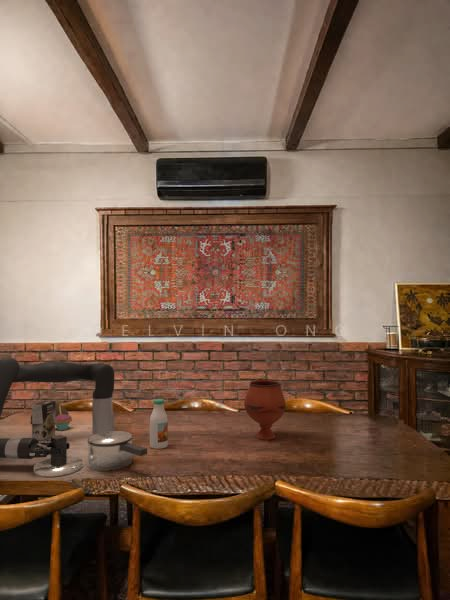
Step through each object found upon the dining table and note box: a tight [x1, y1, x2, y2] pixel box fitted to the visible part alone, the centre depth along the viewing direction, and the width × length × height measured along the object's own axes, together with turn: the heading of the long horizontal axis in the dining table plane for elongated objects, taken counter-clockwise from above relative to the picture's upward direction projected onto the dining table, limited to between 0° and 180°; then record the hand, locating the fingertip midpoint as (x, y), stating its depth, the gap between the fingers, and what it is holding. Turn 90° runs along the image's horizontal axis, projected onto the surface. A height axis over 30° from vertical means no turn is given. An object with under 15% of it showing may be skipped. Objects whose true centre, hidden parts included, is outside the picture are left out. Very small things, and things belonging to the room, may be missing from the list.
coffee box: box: [31, 400, 56, 441], centre depth 195 cm, size 9×6×16 cm
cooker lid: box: [33, 434, 84, 478], centre depth 156 cm, size 17×17×12 cm
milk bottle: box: [149, 398, 169, 450], centre depth 181 cm, size 8×8×20 cm
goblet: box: [243, 379, 286, 441], centre depth 193 cm, size 19×19×25 cm
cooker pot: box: [87, 430, 148, 472], centre depth 157 cm, size 16×28×10 cm, turn 52°
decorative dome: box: [30, 402, 70, 425], centre depth 226 cm, size 19×20×10 cm
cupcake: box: [55, 404, 73, 431], centre depth 209 cm, size 9×8×12 cm
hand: (65, 448), depth 156 cm, fingers closed on cooker lid, 5 cm apart
